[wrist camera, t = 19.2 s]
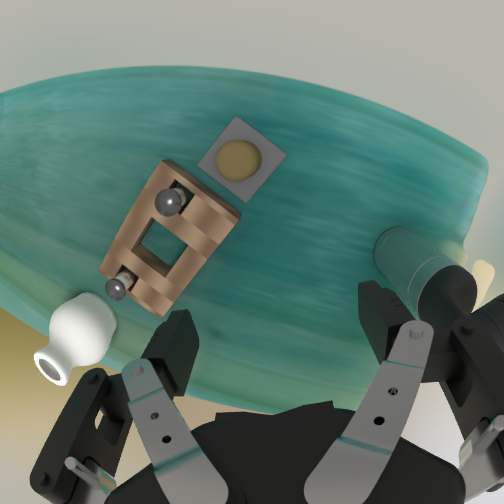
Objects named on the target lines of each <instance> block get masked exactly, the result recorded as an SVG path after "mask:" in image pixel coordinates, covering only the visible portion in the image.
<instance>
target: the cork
mask: <svg viewBox="0 0 504 504" xmlns="http://www.w3.org/2000/svg"><path fill="white" fill-rule="evenodd" d="M261 162H262V156H261V152H260V150H259V149H258V147H257V146H256V145H254V144H253V143H251V142H249V141H244V140H233V141H228V142H227V143H225V144H223V145H222V146H221V147H220V148H219V149H218V151H217V154H216V156H215V165H216V169H217V171H218V172H219V174H220V175H221V176H222V177H223V178H224V179H227V180H229V181H233V182H239V181H244V180H246V179H248V178H249V177H250V176H252V175H254V174H255V173H256V172H257V171H258V170H259V168H260V166H261Z"/></svg>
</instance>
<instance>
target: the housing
mask: <svg viewBox="0 0 504 504" xmlns="http://www.w3.org/2000/svg"><path fill="white" fill-rule="evenodd" d="M178 182H180V183H181V184H182V185H183V186H185V187H186V188H187V189H189V190H190V191H191V192H193V193H194V194H195V196H194V197H193V199H192V200H191V201H190V203H189V204H188V206H187V207H186V208H185V207H183V206H181V209H180V210H179V212H178V213H176V214H175V215H173V216H170V217H165V216H162V215H161V214H159V213H158V211H157V210H156V208H155V204H154V201H155V197H156V195H157V194H158V193H159V192H160V191H162V190H164V189H168V188H170V189H173V188H175V186H176V185H177V183H178ZM240 216H241V213H239V212H238V211H237V210H235V209H234V208H233V207H232V206H230V205H229V204H228V203H226V202H225V201H224V200H223V199H221V198H220V197H219V196H217V195H216V194H215V193H213V192H212V191H211V190H210V189H208V188H207V187H206V186H204V185H203V184H202V183H200V182H199V181H198V180H196V179H195V178H194V177H192V176H191V175H190V174H189V173H187V172H186V171H185V170H183V169H182V168H181V167H179V166H178V165H177V164H175V163H174V162H173V161H171V160H170V159H169V160H161V161H160V163H159V164H158V166H157V167H156V169H155V170H154V172H153V174H152V175H151V177H150V178H149V180H148V181H147V183H146V185H145V186H144V188H143V189H142V191H141V193H140V194H139V196H138V198H137V199H136V201H135V203H134V204H133V206H132V208H131V209H130V211H129V213H128V215H127V216H126V218H125V220H124V222H123V224H122V225H121V227H120V229H119V231H118V233H117V235H116V237H115V239H114V240H113V242H112V244H111V246H110V248H109V250H108V252H107V254H106V256H105V258H104V260H103V262H102V264H101V267H100V269H99V272H100V273H101V274H102V275H104V276H105V277H106V278H107V279H108V280H110V279H112V278H115V277H116V276H117V275H118V274H119V273H120V272H122V271H123V270H124V268H125V266H126V267H127V268H128V269H129V270H131V271H132V272H133V273H134V274H136V275H137V276H138V277H140V278H139V279H138V281H136V280H135V282H134V283H133V284H132V285H131V286H130V287H129V288H128V289H127V291H126V294H127V295H128V296H130V297H131V298H132V299H134V300H135V301H136V302H138V303H139V304H140V305H142V306H143V307H144V308H146V309H147V310H148V311H150V312H151V313H152V314H154V315H155V316H157V317H158V318H159V319H162V317H163V316H164V315H165V313H166V312H167V311H168V309H169V308H170V307H171V306H172V304H173V303H174V302H175V300H176V299H177V298H178V296H179V295H180V294H181V292H182V291H183V290H184V289H185V287H186V286H187V285H188V283H189V282H190V281H191V280H192V278H193V277H194V276H195V275H196V273H197V272H198V271H199V269H200V268H201V267H202V266H203V264H204V263H205V262H206V261H207V259H208V258H209V257H210V256H211V254H212V253H213V252H214V251H215V249H216V248H217V247H218V246H219V244H220V243H221V242H222V241H223V239H224V238H225V237H226V236H227V234H228V233H229V232H230V231H231V229H232V228H233V227H234V226H235V224H236V223H237V222H238V221H239V219H240ZM154 220H157V221H158V222H159V223H160V224H162V225H163V226H164V227H165V228H167V229H168V230H169V231H171V232H172V233H173V234H175V235H176V236H177V237H178V238H180V239H181V240H182V241H184V242H185V243H186V244H188V245H189V246H188V247H187V248H186V250H185V251H184V253H183V254H182V255H181V257H180V258H179V259H178V261H177V262H176V264H175V265H174V266H173V268H171V267H169V266H168V265H167V264H166V263H164V262H163V261H162V260H160V259H159V258H158V257H156V256H155V255H154V254H153V253H151V252H150V251H149V250H147V249H146V248H145V247H144V246H142V245H141V244H140V242H141V241H142V239H143V238H144V236H145V234H146V233H147V231H148V229H149V228H150V226H151V225H152V223H153V222H154Z"/></svg>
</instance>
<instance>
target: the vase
mask: <svg viewBox="0 0 504 504" xmlns="http://www.w3.org/2000/svg"><path fill="white" fill-rule="evenodd" d="M116 328H117V320H116V317H115V314H114V312H113V310H112V309H111V307H110V306H109V305H108V303H107V302H106V301H104V300H103V299H102V298H101V297H100V296H98V295H95V294H93V293H91V292H86V293H81V294H80V295H79V296H77V297H76V298H73V299H71V300H69V301H67V302H65V303H64V304H62V305H61V306H60V307H58V308H57V309H56V310H55V311H54V313H53V315H52V317H51V321H50V326H49V332H50V342H49V344H48V345H47V346H46V347H44V348H42V349H40V350H38V351H37V352H36V353H35V354H34V360H35V363H36V365H37V367H38V368H39V370H40V371H41V372H42V374H43V375H44V376H45V377H47V378H48V379H49V380H50V381H51V382H53V383H55V384H57V385H60V386H64V385H66V384H67V382H68V379H69V376H70V372H71V370H72V368H73V367H75V366H88V365H91V364H94V363H97V362H98V361H100V360H101V359H102V358H103V356H104V355H105V353H106V351H107V349H108V347H109V345H110V342H111V339H112V336H113V333H114V332H115V330H116Z"/></svg>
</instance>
